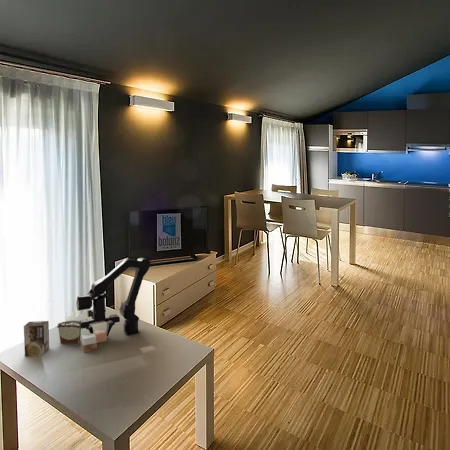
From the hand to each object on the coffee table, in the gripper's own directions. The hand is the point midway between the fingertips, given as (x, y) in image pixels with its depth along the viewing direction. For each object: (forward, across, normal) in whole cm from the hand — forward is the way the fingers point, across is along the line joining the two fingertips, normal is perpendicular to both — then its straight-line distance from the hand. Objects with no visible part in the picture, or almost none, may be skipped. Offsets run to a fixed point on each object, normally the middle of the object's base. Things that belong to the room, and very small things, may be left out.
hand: (100, 337), depth 187 cm
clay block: (+1, 0, 0) cm, 1 cm away
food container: (+1, +12, -5) cm, 13 cm away
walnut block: (+2, +7, +8) cm, 11 cm away
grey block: (-2, +7, +8) cm, 11 cm away
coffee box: (+4, +28, -2) cm, 29 cm away
